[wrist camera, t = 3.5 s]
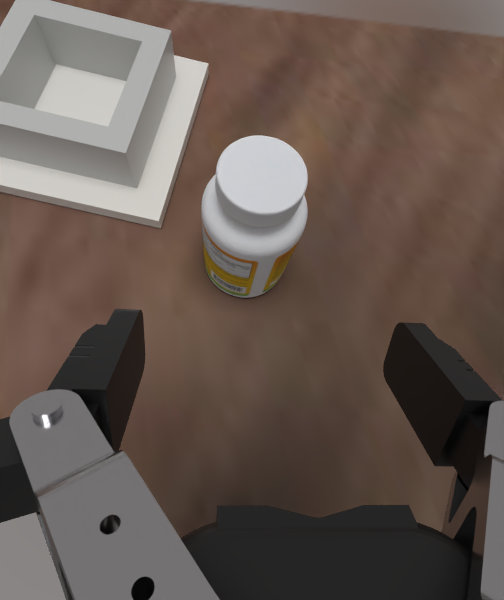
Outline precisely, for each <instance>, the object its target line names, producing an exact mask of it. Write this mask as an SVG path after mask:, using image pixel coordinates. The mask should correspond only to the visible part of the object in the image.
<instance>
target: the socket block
mask: <svg viewBox="0 0 504 600" xmlns="http://www.w3.org/2000/svg"><path fill="white" fill-rule="evenodd" d="M208 75H209V73H208V63H204V62H200V61H196V60H192V59H187V58H183V57H179V56H175V55H174V52H173V43H172V33H171V31H170V30H166V29H162V28H158V27H154V26H150V25H146V24H142V23H138V22H134V21H130V20H126V19H122V18H118V17H114V16H110V15H106V14H102V13H98V12H94V11H90V10H86V9H82V8H78V7H74V6H70V5H66V4H62V3H58V2H54V1H50V0H16V1H15V2H14V4H13V6H12V8H11V9H10V11H9V13H8V14H7V16H6V18H5V20H4V21H3V23H2V25H1V27H0V192H3V193H7V194H12V195H16V196H21V197H25V198H29V199H34V200H38V201H43V202H47V203H51V204H56V205H60V206H65V207H69V208H73V209H78V210H82V211H86V212H91V213H95V214H100V215H104V216H108V217H113V218H117V219H122V220H126V221H130V222H135V223H139V224H144V225H148V226H152V227H157V228H161V226H162V223H163V220H164V217H165V213H166V210H167V207H168V204H169V200H170V197H171V194H172V191H173V188H174V184H175V181H176V178H177V175H178V172H179V168H180V165H181V162H182V159H183V155H184V152H185V149H186V146H187V143H188V139H189V136H190V133H191V130H192V127H193V123H194V120H195V117H196V114H197V110H198V107H199V104H200V101H201V98H202V94H203V91H204V88H205V85H206V82H207V78H208Z"/></svg>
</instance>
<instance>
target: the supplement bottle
mask: <svg viewBox="0 0 504 600" xmlns="http://www.w3.org/2000/svg"><path fill="white" fill-rule="evenodd" d="M307 180H308V176H307V169H306V166H305V164H304V162H303V160H302V158H301V156H300V155H299V154H298V153H297V151H296V150H294V149H293V148H292V147H291V146H290V145H288V144H287V143H285V142H283V141H281V140H279V139H276V138H273V137H268V136H260V135H259V136H249V137H245V138H242V139H239V140H237V141H235V142H234V143H232V144H231V145H229V146H228V147H227V148H226V149H225V150H224V152H223V153H222V154H221V156H220V158H219V160H218V163H217V168H216V174H215V175H214V176H213V178H212V179H211V180H210V182H209V183H208V185H207V187H206V188H205V191H204V194H203V198H202V209H201V216H202V228H203V244H204V261H205V267H206V271H207V273H208V275H209V277H210V279H211V280H212V281H213V283H214V284H215V285H216V286H217V287H218V288H219V289H221V290H222V291H224V292H226V293H228V294H230V295H233V296H236V297H243V298H249V297H255V296H258V295H261V294H263V293H265V292H267V291H268V290H270V289H271V288H272V287H273V286H274V285H275V284H276V283H277V282H278V281H279V279H280V277H281V276H282V274H283V272H284V270H285V268H286V265H287V263H288V261H289V259H290V257H291V255H292V253H293V251H294V249H295V247H296V245H297V243H298V241H299V239H300V237H301V235H302V233H303V230H304V228H305V225H306V221H307V202H306V199H305V196H304V193H305V191H306V187H307Z"/></svg>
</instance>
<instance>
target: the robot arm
mask: <svg viewBox="0 0 504 600" xmlns="http://www.w3.org/2000/svg"><path fill="white" fill-rule="evenodd" d="M144 364H145V342H144V324H143V313H142V311H141V310H130V309H115V310H114V312H113V314H112V316H111V317H110V319H109V321H108V323H107V325H98V324H96V325H94V326H93V327H92V328H90V329H89V330H87V331H86V332H84V333H83V334H82V335H81V337H80V339H79V340H78V342H77V343H76V345H75V348H73V350H72V351H71V353H70V354H69V357H68V358H67V359H66V361H65V362H64V364H63V365H62V367H61V369H60V370H59V372H58V373H57V375H56V377H55V378H54V380H53V381H52V383H51V385H50V386H49V388H48V389H47V391H44V392H41V393H38V394H35V395H33V396H31V397H29V398H27V399H26V400H24V401H23V402H21V403H20V404H19V405H18V406H17V407H16V408H15V409H14V411H13V412H12V414H11V416H10V417H8V418H4V419H0V523H1V522H4V521H8V520H11V519H14V518H18V517H21V516H24V515H28V514H31V513H34V512H36V514H37V517H38V520H39V523H40V526H41V528H42V531H43V534H44V537H45V540H46V543H47V546H48V548H49V551H50V554H51V557H52V560H53V563H54V566H55V568H56V571H57V574H58V577H59V580H60V582H61V586H62V589H63V592H64V595H65V598H66V600H504V401H502V400H501V399H500V397H499V396H498V395H497V394H496V393H495V392H494V391H493V390H492V389H491V388H490V387H489V386H488V385H487V383H486V382H485V381H484V380H483V379H482V378H481V377H480V376H479V375H478V374H477V373H476V372H473V368H472V367H471V366H470V365H469V364H468V363H467V362H465V360H464V359H463V358H462V357H461V355H460V354H459V353H458V352H457V351H456V350H455V349H454V348H452V347H451V346H449V345H447V344H446V343H444V342H443V341H441V340H440V339H438V338H437V337H436V336H435V335H434V334H433V332H432V331H431V330H430V329H429V328H428V327H427V326H426V325H425V324H422V323H398V324H397V325H396V327H395V329H394V332H393V335H392V338H391V342H390V345H389V348H388V351H387V354H386V357H385V361H384V367H383V370H384V377H385V380H386V382H387V384H388V385H389V387H390V389H391V391H392V392H393V394H394V396H395V398H396V399H397V401H398V403H399V405H400V406H401V408H402V410H403V412H404V413H405V415H406V417H407V419H408V420H409V422H410V424H411V426H412V427H413V429H414V431H415V433H416V434H417V436H418V438H419V439H420V441H421V443H422V445H423V446H424V448H425V450H426V452H427V453H428V455H429V457H430V459H431V460H432V462H433V464H434V466H454V468H455V469H456V473H455V475H454V477H453V479H452V483H451V488H450V493H449V498H448V503H447V508H446V513H445V518H444V523H443V528H442V532H439V531H437V530H435V529H433V528H431V527H428V526H425V525H423V524H420V523H417V522H416V520H415V518H414V516H413V514H412V511H411V509H410V507H409V505H363V506H360V507H356V508H353V509H349V510H346V511H343V512H339V513H336V514H332V515H329V516H326V517H322V518H314V517H310V516H306V515H302V514H298V513H294V512H290V511H286V510H282V509H278V508H274V507H270V506H218V507H217V521H216V522H215V523H212V524H209V525H205V526H203V527H201V528H198V529H196V530H194V531H192V532H190V533H189V534H187V535H185V536H184V537H182V538H181V539H180V537H179V536H178V534H177V533H176V531H175V529H174V528H173V526H172V525H171V523H170V522H169V520H168V518H167V517H166V515H165V514H164V512H163V511H162V509H161V508H160V506H159V504H158V503H157V501H156V500H155V498H154V497H153V495H152V493H151V492H150V490H149V489H148V487H147V486H146V484H145V482H144V481H143V479H142V478H141V476H140V475H139V473H138V472H137V470H136V468H135V467H134V465H133V464H132V462H131V461H130V459H129V458H128V456H127V455H126V454H125V452H123V451H122V450H119V448H120V444H121V441H122V438H123V435H124V432H125V429H126V425H127V422H128V419H129V416H130V413H131V409H132V406H133V403H134V400H135V397H136V393H137V390H138V387H139V384H140V381H141V377H142V374H143V370H144Z"/></svg>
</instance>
